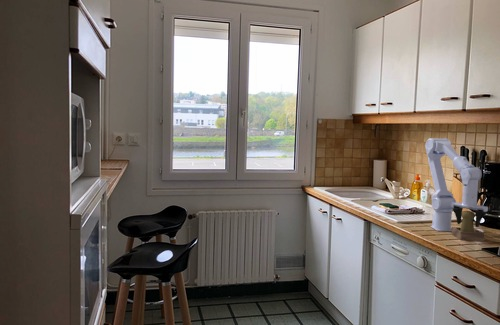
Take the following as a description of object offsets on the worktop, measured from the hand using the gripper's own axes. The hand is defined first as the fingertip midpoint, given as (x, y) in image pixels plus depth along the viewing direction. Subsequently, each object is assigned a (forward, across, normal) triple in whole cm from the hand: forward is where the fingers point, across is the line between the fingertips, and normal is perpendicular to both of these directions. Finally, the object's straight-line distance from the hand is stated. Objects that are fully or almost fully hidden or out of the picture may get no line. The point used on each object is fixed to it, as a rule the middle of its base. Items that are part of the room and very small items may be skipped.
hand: (468, 225), depth 189 cm
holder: (+6, 0, 0) cm, 6 cm away
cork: (+5, 0, -1) cm, 5 cm away
